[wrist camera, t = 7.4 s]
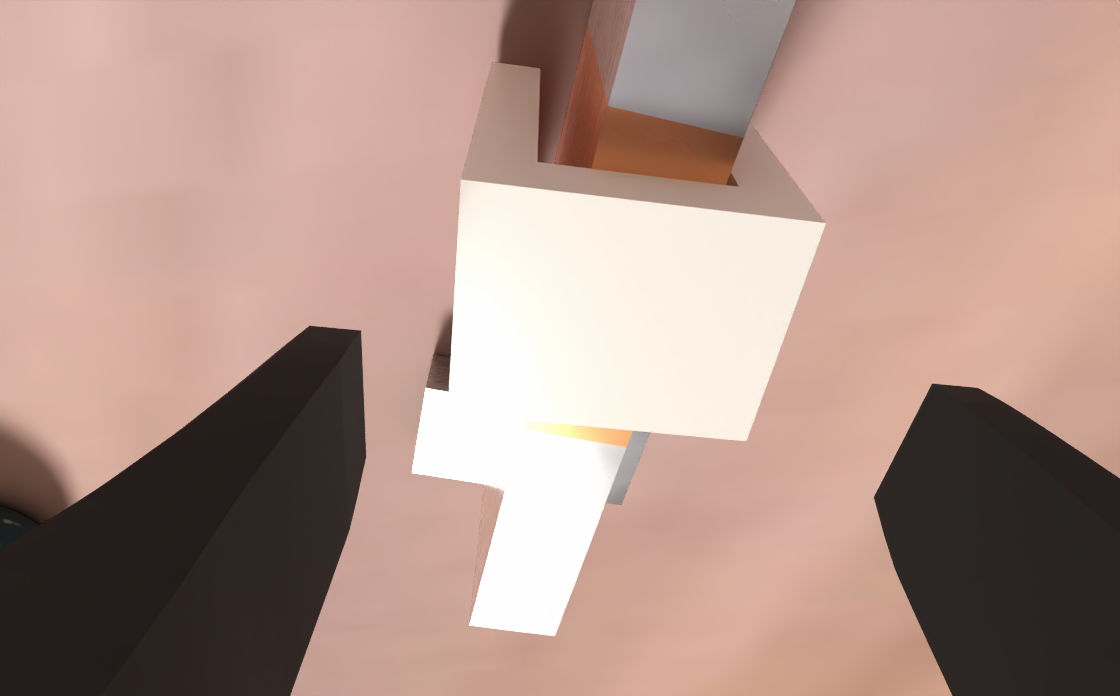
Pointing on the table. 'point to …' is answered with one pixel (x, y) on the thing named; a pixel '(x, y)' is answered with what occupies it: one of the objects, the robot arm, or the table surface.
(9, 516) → the hammer
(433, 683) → the table surface
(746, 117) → the grey and orange bar
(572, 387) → the clip
